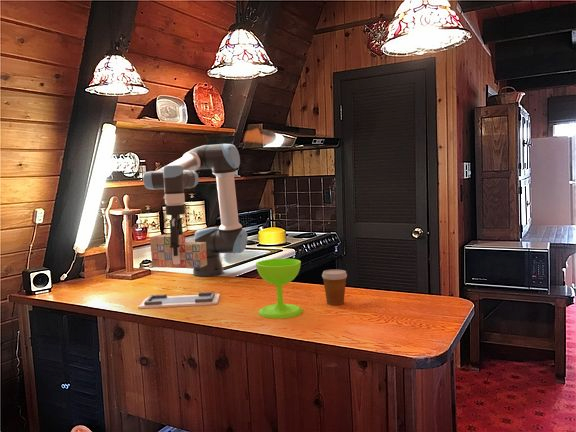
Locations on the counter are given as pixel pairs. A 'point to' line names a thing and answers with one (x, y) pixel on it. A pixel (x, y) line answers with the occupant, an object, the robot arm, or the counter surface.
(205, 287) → the counter surface
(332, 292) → the disposable coffee cup
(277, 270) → the wineglass
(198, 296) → the blueprint board
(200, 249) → the stack of blocks
